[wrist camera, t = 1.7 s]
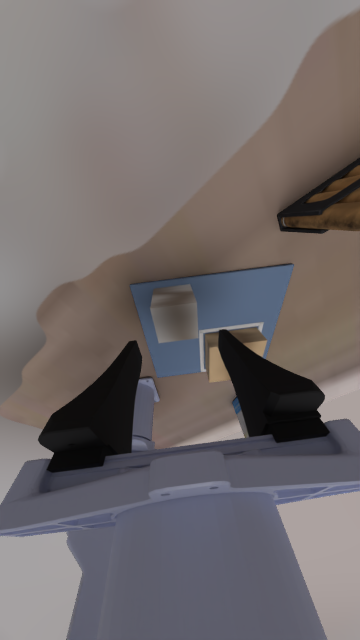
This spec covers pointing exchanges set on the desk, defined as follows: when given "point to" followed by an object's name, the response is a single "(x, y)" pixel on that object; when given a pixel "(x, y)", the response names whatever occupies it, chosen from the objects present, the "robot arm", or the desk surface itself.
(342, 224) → the ammunition clip
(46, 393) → the desk surface
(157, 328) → the top block
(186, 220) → the desk surface
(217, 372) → the base slab
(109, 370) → the robot arm
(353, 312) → the desk surface
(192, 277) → the board
